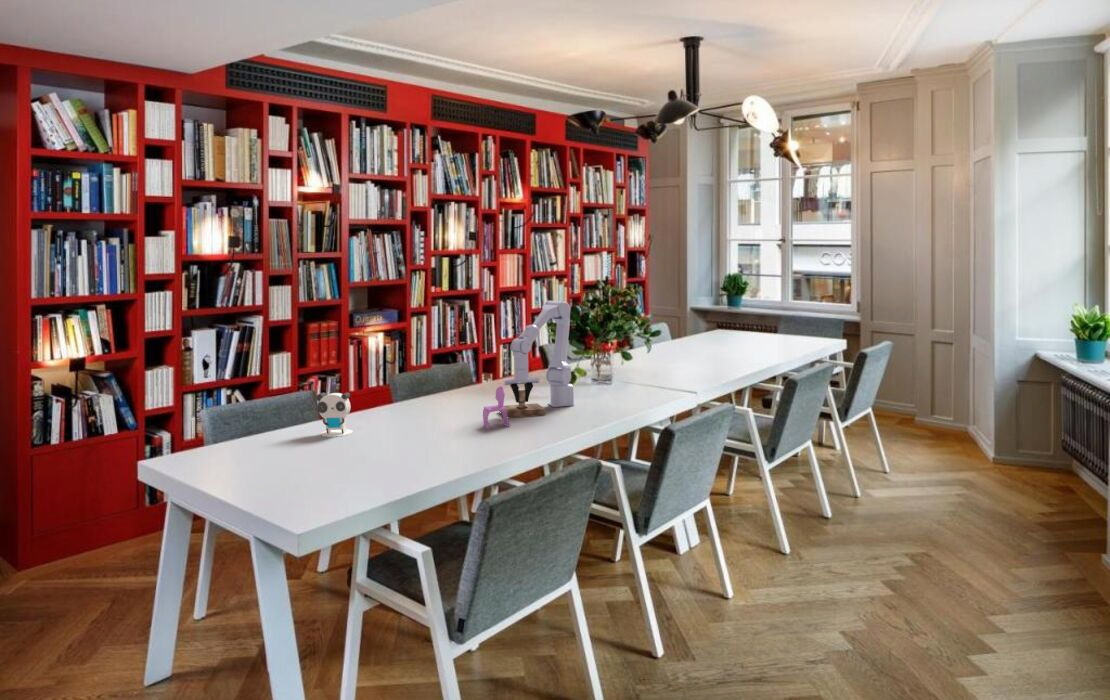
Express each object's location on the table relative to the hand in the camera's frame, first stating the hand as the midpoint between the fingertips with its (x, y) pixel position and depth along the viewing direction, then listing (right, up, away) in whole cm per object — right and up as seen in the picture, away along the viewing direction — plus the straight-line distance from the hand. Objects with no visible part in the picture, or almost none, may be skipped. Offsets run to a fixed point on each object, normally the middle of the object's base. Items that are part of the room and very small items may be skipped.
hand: (521, 401), depth 328 cm
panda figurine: (-67, -10, -29) cm, 74 cm away
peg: (0, -2, 0) cm, 3 cm away
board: (0, -5, +1) cm, 5 cm away
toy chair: (-9, -8, -22) cm, 25 cm away
